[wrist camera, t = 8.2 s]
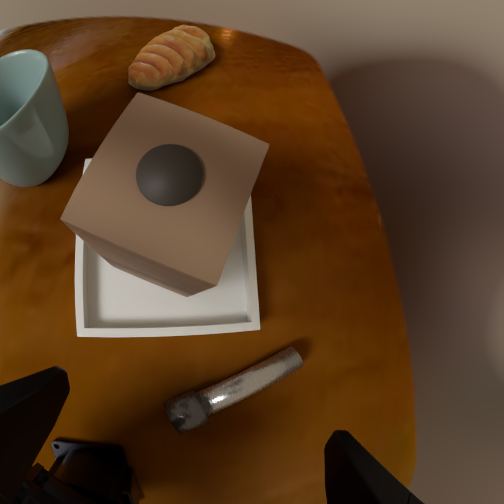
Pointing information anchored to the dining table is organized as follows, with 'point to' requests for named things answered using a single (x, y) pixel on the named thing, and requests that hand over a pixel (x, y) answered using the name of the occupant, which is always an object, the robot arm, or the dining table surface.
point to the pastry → (171, 58)
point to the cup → (30, 119)
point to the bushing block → (166, 194)
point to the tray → (166, 296)
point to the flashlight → (229, 391)
